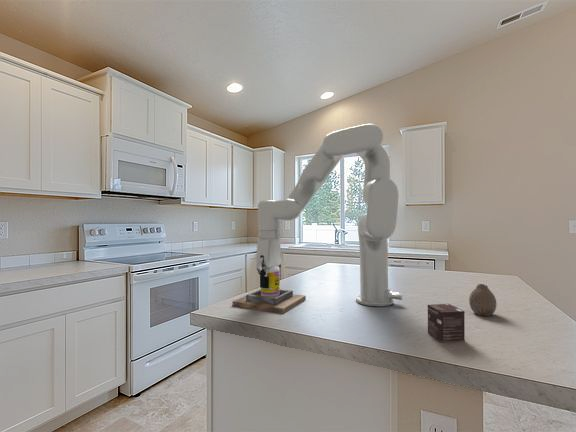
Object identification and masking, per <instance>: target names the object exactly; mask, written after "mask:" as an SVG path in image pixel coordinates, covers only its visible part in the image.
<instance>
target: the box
mask: <svg viewBox="0 0 576 432" xmlns="http://www.w3.org/2000/svg"><path fill="white" fill-rule="evenodd" d="M465 313H466V312H465V311H464V310H462V309H461V308H459V307H457V306H454V305H452V304H450V303H436V304H435V303H434V304H433V303H432V304H427V333H428V334H429V335H430V336H431V337H433V338H434V339H436V340H437V341H439V342H440V343H442V344H443V343H452V342H453V343H454V342H455V343H456V342H465V336H466V335H465V326H466V325H465Z"/></svg>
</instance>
